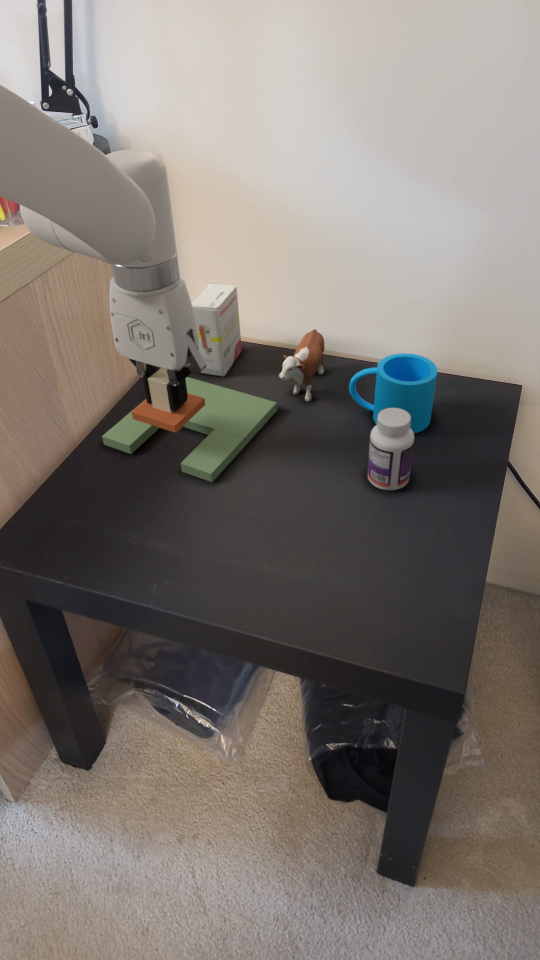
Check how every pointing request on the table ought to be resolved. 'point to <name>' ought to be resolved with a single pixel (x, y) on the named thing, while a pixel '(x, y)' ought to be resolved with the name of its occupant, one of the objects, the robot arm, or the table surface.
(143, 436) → the green mat
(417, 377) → the mug
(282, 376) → the bull figurine
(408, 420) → the pill bottle
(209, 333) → the ink box
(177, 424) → the terracotta pad
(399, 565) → the table surface
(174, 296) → the robot arm
